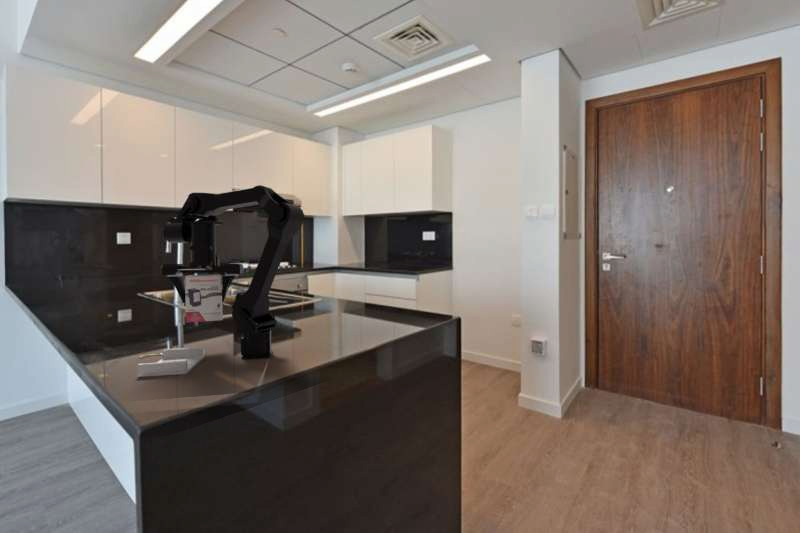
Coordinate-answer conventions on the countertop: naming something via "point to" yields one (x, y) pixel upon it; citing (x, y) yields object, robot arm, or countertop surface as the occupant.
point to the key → (149, 355)
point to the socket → (173, 362)
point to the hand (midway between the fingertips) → (204, 302)
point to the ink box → (203, 298)
